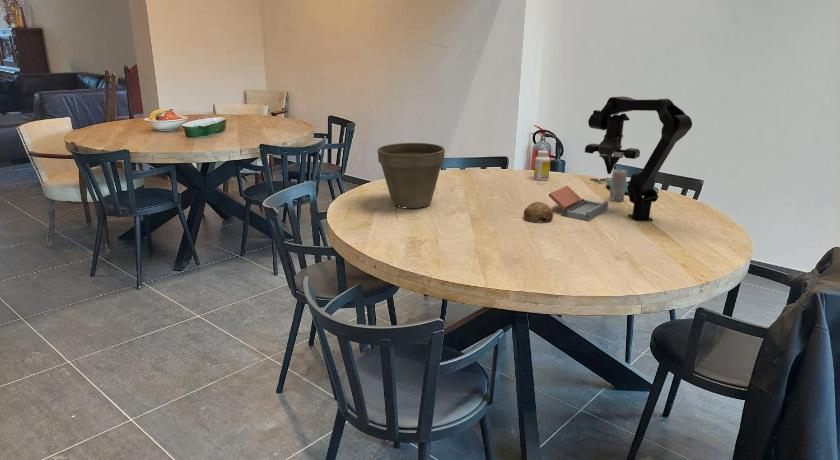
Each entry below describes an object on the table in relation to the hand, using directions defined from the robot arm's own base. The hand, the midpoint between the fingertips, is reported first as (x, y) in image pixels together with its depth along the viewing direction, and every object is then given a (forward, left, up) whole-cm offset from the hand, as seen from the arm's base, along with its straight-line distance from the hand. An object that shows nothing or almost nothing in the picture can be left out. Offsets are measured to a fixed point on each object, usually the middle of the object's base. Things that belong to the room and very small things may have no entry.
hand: (609, 173), depth 207 cm
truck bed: (-8, +9, -13) cm, 18 cm away
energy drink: (+10, -8, -13) cm, 18 cm away
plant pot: (+4, +74, -13) cm, 75 cm away
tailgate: (-4, +14, -11) cm, 18 cm away
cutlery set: (+31, -19, -14) cm, 39 cm away
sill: (-4, +14, -13) cm, 19 cm away
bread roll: (-14, +29, -13) cm, 35 cm away
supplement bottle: (+45, +14, -13) cm, 49 cm away
